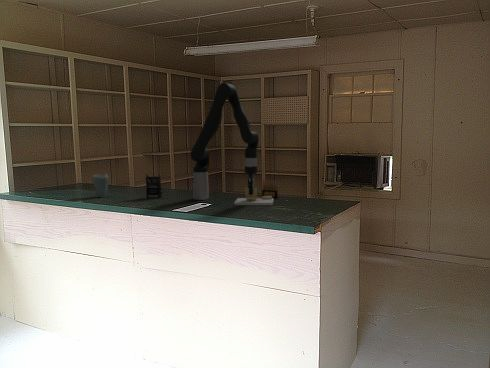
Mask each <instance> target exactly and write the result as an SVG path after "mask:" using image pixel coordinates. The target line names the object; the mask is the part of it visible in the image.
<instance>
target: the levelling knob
mask: <svg viewBox="0 0 490 368" xmlns="http://www.w3.org/2000/svg"><path fill="white" fill-rule="evenodd" d="M244 196H245V197H244V198H246V200H256V199H260V198H261V197H260V196H258V187H253V194H252V195H249V188H248V187H245V188H244Z"/></svg>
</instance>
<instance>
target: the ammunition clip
mask: <svg viewBox="0 0 490 368" xmlns="http://www.w3.org/2000/svg"><path fill="white" fill-rule="evenodd" d="M278 188H279V187H278V180H277V179H273V180H272V179H269V178H268V179H264V178H263V179H262V188H261V197H262V196H272V198H274V200H275V199H276V200H277V199H279V190H278Z"/></svg>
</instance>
